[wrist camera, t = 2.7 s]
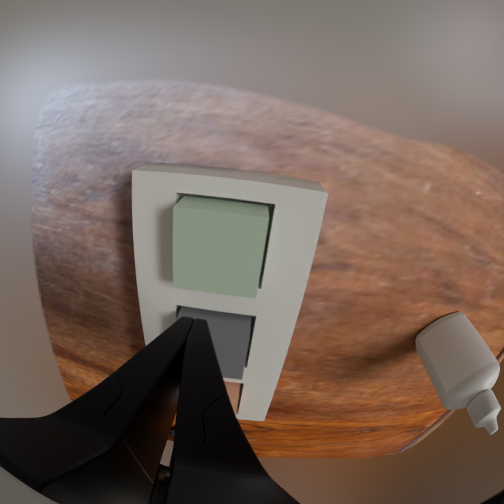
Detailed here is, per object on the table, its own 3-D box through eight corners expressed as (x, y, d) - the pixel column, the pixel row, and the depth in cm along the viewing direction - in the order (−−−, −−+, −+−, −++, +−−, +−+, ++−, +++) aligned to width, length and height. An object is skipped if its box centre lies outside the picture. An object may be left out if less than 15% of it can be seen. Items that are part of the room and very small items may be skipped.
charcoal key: (243, 358, 19) (242, 379, 17) (184, 350, 19) (178, 370, 17) (251, 313, 17) (250, 334, 16) (182, 303, 17) (174, 323, 15)
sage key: (256, 278, 16) (255, 298, 14) (182, 268, 16) (173, 287, 14) (268, 205, 14) (269, 218, 12) (184, 195, 14) (173, 206, 12)
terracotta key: (235, 406, 22) (233, 424, 21) (187, 399, 22) (183, 417, 20) (240, 379, 20) (238, 399, 19) (185, 371, 20) (180, 390, 19)
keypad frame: (264, 399, 25) (263, 421, 22) (164, 385, 25) (158, 405, 22) (318, 182, 16) (328, 192, 13) (150, 162, 15) (132, 170, 13)
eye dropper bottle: (424, 312, 20) (488, 426, 9) (467, 309, 20) (530, 402, 9) (407, 349, 22) (452, 458, 11) (450, 343, 21) (498, 435, 11)
